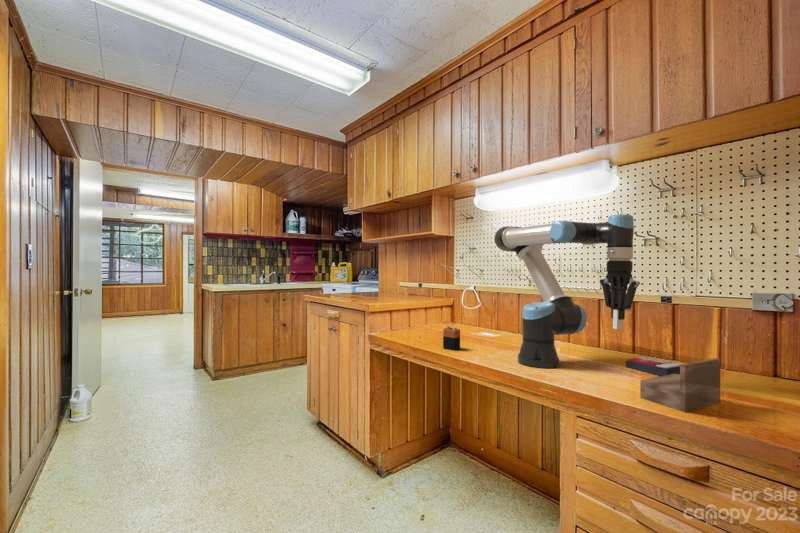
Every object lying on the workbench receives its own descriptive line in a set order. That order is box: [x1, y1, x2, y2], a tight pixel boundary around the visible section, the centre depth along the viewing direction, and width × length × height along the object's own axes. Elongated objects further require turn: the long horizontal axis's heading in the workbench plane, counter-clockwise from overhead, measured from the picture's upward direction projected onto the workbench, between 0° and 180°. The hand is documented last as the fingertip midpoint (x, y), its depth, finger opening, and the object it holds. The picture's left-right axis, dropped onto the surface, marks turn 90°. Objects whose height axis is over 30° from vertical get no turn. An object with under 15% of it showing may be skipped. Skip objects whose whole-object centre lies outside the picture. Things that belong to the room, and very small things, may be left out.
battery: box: [442, 325, 461, 351], centre depth 162 cm, size 4×7×10 cm, turn 48°
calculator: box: [625, 356, 681, 377], centre depth 129 cm, size 11×4×15 cm
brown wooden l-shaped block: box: [639, 357, 721, 413], centre depth 100 cm, size 11×17×12 cm, turn 115°
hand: (617, 328), depth 122 cm, fingers closed
